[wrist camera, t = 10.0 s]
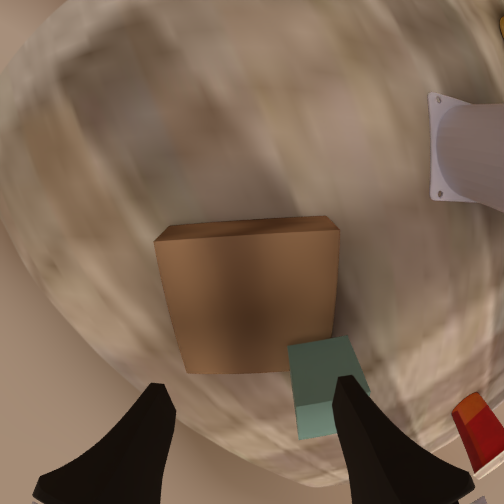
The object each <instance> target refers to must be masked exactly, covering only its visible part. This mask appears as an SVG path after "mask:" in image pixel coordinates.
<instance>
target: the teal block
mask: <svg viewBox="0 0 504 504" xmlns="http://www.w3.org/2000/svg"><path fill="white" fill-rule="evenodd" d="M287 348H288V356H289V365H290V375H291V384H292V391H293V399H294V406H295V414H296V422H297V429H298V437H299V440H302V439H309V438H315V437H320V436H326V435H331V434H335V433H337V430H336V427H335V422H334V416H333V409H332V402H333V398H334V393H335V388H336V384H337V379H338V377H340V376H346V375H353V376H354V377H355V378H356V380H357V381H358V383H359V384H360V385H361V387H362V388H363V389H364V390H365V392H366V393H367V394H368V396H370V392H371V391H370V389H369V386H368V384H367V381H366V379H365V376H364V374H363V371H362V369H361V367H360V364H359V362H358V359H357V357H356V355H355V352H354V350H353V347H352V345H351V343H350V341H349V338H348V336H347V335H346V336H341V337H336V338H331V339H325V340H320V341H314V342H308V343H302V344H296V345H289V346H287Z"/></svg>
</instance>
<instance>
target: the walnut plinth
mask: <svg viewBox="0 0 504 504" xmlns="http://www.w3.org/2000/svg"><path fill="white" fill-rule="evenodd" d="M339 245H340V229H339V228H338V227H337V226H336V225H335V224H334V223H333V222H332V221H331V220H330V219H329V218H328V217H327V216H311V217H290V218H272V219H255V220H239V221H225V222H211V223H199V224H186V225H175V226H169V227H168V228H167V229H166V230H165V231H164V232H163V233H162V234H161V235H160V236H159V237H158V238H157V239H156V240H155V241H154V247H155V252H156V257H157V262H158V266H159V271H160V276H161V280H162V284H163V289H164V293H165V297H166V301H167V305H168V309H169V313H170V317H171V321H172V324H173V328H174V332H175V335H176V339H177V342H178V346H179V349H180V352H181V356H182V359H183V362H184V365H185V369H186V372H187V373H192V374H244V373H267V372H282V371H290V365H289V356H288V348H287V346H289V345H296V344H302V343H308V342H314V341H320V340H325V339H331V336H332V328H333V320H334V310H335V300H336V289H337V277H338V263H339Z"/></svg>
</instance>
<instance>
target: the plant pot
mask: <svg viewBox="0 0 504 504" xmlns="http://www.w3.org/2000/svg"><path fill="white" fill-rule="evenodd" d="M500 29H501V33H502V36H503V38H504V16H503V17H502V18H501V19H500Z"/></svg>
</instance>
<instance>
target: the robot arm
mask: <svg viewBox="0 0 504 504" xmlns="http://www.w3.org/2000/svg"><path fill="white" fill-rule="evenodd" d="M436 97H439V98H440V103H438V102H437V100H436ZM427 98H428V109H429V124H430V187H429V196H430V198H431V199H432V200H434V201H457V202H476V203H481V204H484V205H486V206H489V207H491V208H494V209H496V210H498V211H501V212H503V213H504V104H470V103H468V102H465V101H462V100H459V99H456V98H452V97H449V96H446V95H442V94H439V93H435V92H429V93H428V95H427ZM439 191H441V193H442V194H441V196H440V197H438V192H439ZM332 409H333V416H334V422H335V427H336V430H337V434H338V437H339V441H340V444H341V448H342V451H343V454H344V458H345V461H346V465H347V469H348V474H349V481H350V488H351V497H352V504H459V502H458V500H459V499H461V498H462V497H464V496H465V495H467V494H468V493H470V492H471V491H473V490H474V488H475V485H474V483H473V480H472V477H471V476H470V474H469V472H467V471H465V470H462V469H460V468H457V467H455V466H453V465H451V464H449V463H447V462H445V461H443V460H441V459H439V458H438V457H436V456H434V455H433V454H431V453H430V452H428V451H427V450H425V449H423V448H422V447H421V446H419V445H418V444H417V443H415V442H414V441H413V440H411V439H410V438H409V437H408V436H407V435H405V434H404V433H403V432H402V431H401V430H400V429H399V428H398V427H397V426H395V425H394V424H393V423H392V422H391V421H390V420H389V418H388V417H387V416H386V415H385V414H384V413H383V412H382V411H381V410H380V409H379V407H378V406H377V405H376V404H375V403H374V402H373V400H372V399H371V398H370V397H369V396H368V394H367V393H366V392H365V390H364V389H363V388H362V387H361V385H360V384H359V383H358V381H357V380H356V378H355V377H354V376H353V375H346V376H340V377H338V379H337V384H336V388H335V393H334V398H333V402H332ZM175 418H176V409H175V407H174V405H173V403H172V401H171V398H170V396H169V394H168V392H167V390H166V387H165V385H164V384H160V383H150V384H149V386H148V387H147V388H146V389H145V391H144V392H143V393H142V394H141V396H140V397H139V398H138V399H137V401H136V402H135V403H134V404H133V406H132V407H131V408H130V409H129V411H128V412H127V413H126V414H125V415H124V416H123V417H122V419H121V420H120V421H119V422H118V423H117V424H116V425H115V426H114V427H113V428H112V429H111V430H110V431H109V432H108V433H107V434H106V435H105V436H104V437H103V438H102V439H101V440H100V441H99V442H98V443H96V444H95V445H94V446H93V447H91V448H90V449H89V450H87V451H86V452H85V453H83V454H82V455H81V456H79V457H78V458H76V459H74V460H73V461H71V462H69V463H68V464H66V465H64V466H62V467H60V468H59V469H56V470H54V471H52V472H49V473H47V474H44V475H42V476H40V477H39V480H38V482H37V485H36V487H35V489H34V492H33V494H32V495H33V497H34V498H36V499H37V500H39V501H40V502H42V503H44V504H160V497H161V486H162V478H163V472H164V467H165V464H166V460H167V456H168V452H169V448H170V444H171V440H172V437H173V433H174V427H175ZM32 504H37V503H35V502H32ZM471 504H487V502H486V499H485V497H484V496H482V497H480V498H479V499H477V500H476V501H474V502H472V503H471Z"/></svg>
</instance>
